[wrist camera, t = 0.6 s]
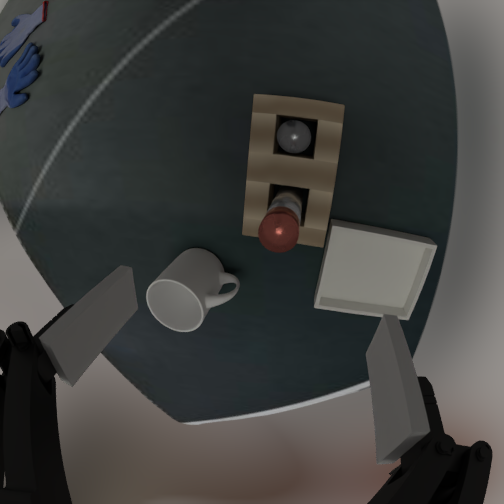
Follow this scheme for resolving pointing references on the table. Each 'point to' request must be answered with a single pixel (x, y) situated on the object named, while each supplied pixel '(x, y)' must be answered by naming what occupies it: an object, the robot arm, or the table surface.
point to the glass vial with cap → (282, 220)
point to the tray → (372, 270)
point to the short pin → (294, 136)
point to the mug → (189, 290)
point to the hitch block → (292, 162)
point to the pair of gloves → (27, 63)
